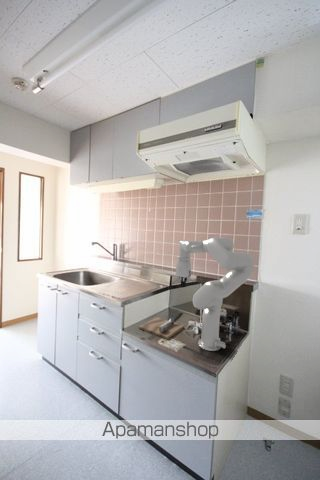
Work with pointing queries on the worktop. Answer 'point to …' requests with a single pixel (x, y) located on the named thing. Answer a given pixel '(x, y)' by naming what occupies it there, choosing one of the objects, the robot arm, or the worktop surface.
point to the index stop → (163, 329)
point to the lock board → (154, 325)
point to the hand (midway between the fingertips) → (183, 286)
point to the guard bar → (168, 323)
